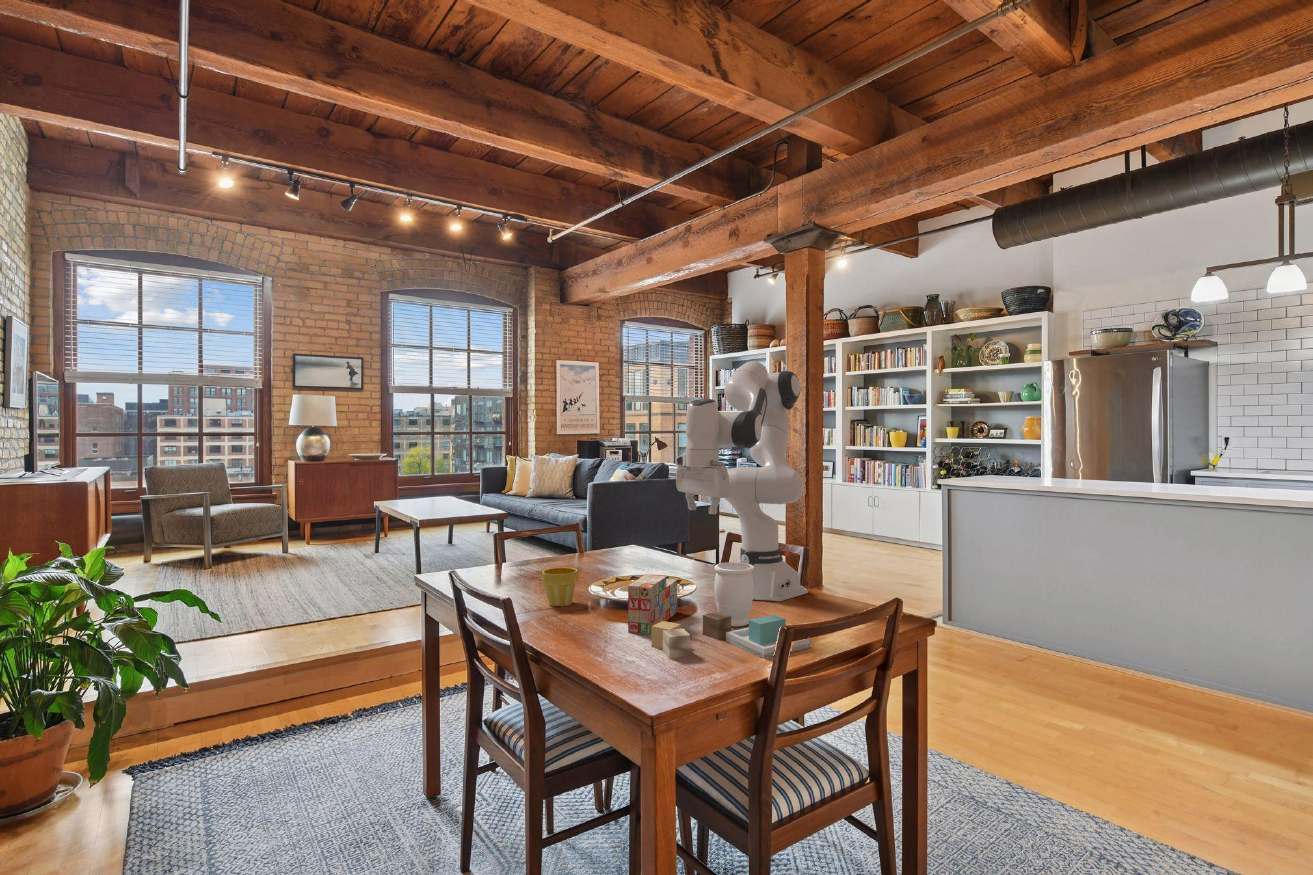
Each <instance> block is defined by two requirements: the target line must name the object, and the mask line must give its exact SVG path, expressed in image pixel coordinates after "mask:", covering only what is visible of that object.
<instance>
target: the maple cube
mask: <svg viewBox="0 0 1313 875" xmlns="http://www.w3.org/2000/svg"><path fill="white" fill-rule="evenodd" d="M662 652H663V653H664V654H665V656H666V657H667V659H669V660H670V659H671V660H672V659H678V658H679V659H681V658H690V657H691V634H690V633H689V632H688V631H686V630H685V628H681V629H673V630H663V649H662Z"/></svg>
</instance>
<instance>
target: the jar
mask: <svg viewBox="0 0 1313 875" xmlns="http://www.w3.org/2000/svg"><path fill="white" fill-rule="evenodd" d="M753 570H754V566H752V565H750V564H746V563H741V562H735V561H733V562H732V561H731V562H720V563H717V564H715V565H714V571H715V572H716V574H715V578H714V587H713V588H714V589H713V590H714V597H715V607H716V609H717V612H720V613H724V614H727V615H731V627H744V626H747V625H749V620H750V617H749V616H750V613H751V610H752V606H753V600H754V599H753V595H754V582H753V576H752V572H753Z"/></svg>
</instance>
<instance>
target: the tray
mask: <svg viewBox="0 0 1313 875" xmlns="http://www.w3.org/2000/svg"><path fill="white" fill-rule="evenodd" d="M810 640H811V638H810V639H803V640H801V641H797V642H796V643H794V645H793V646H792V652H791V653H793V652H796V651H801V650H806V649H810V646H811V645H810V644H811V643H810V642H811V641H810ZM725 641H726V642H727V643H729V644H731V645H734V646H735V645H736V646H735V647H738V648H740V649H742V650H744V651H746V652H749V653H751V654H753V655H755V656H756V657H759V658H762V659H763V658H765V659H768V658H767V657H769V658H773V657H774V656H773V654H774V652H775V647H776V642H773V643H769V644H764V645H759V644H757V643H754V642H752V641H750V640H749V627H745V628H740V629H736V630H731V631H729V632H726V637H725Z"/></svg>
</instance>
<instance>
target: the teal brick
mask: <svg viewBox="0 0 1313 875" xmlns="http://www.w3.org/2000/svg"><path fill="white" fill-rule="evenodd" d="M786 622H787V619H786V618H784V617H781V616H779V615H776V614H772V615H765V616H761V617H758V618H753V619H752V618H751V619H749V624H748V628H749V640H750V641H752V642H754V643H757V644H759V645H764V644H769V643H773V642H776V641H777V635H778V632H779V628H780V627H781V626H787V624H786Z"/></svg>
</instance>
